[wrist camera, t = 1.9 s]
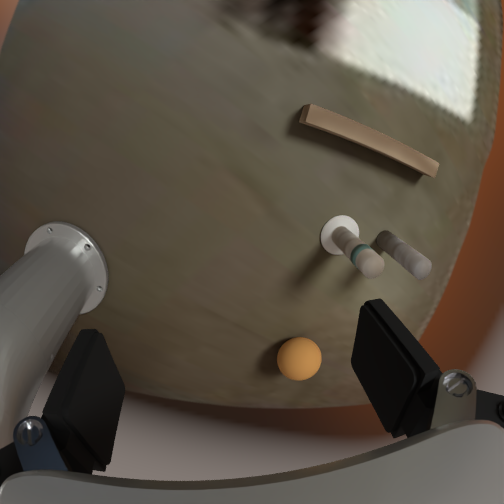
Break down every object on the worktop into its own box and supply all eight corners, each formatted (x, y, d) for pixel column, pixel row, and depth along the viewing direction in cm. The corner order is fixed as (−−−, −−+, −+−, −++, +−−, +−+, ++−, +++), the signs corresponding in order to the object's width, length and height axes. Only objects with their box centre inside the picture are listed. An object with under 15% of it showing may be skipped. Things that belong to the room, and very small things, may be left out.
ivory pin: (336, 248, 36) (368, 283, 28) (326, 232, 35) (358, 265, 27) (352, 237, 36) (388, 269, 27) (343, 221, 35) (379, 250, 27)
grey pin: (380, 251, 37) (417, 283, 29) (373, 237, 36) (412, 267, 28) (394, 241, 37) (433, 270, 28) (388, 226, 36) (428, 254, 28)
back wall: (423, 174, 33) (434, 178, 31) (298, 122, 30) (305, 121, 27) (427, 160, 33) (439, 163, 30) (303, 105, 29) (310, 103, 27)
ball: (286, 365, 43) (295, 395, 37) (265, 343, 41) (272, 373, 35) (321, 345, 42) (334, 373, 37) (302, 321, 40) (314, 349, 34)
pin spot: (332, 261, 37) (332, 262, 36) (313, 230, 35) (313, 231, 35) (364, 239, 36) (364, 239, 36) (347, 207, 34) (348, 207, 34)
